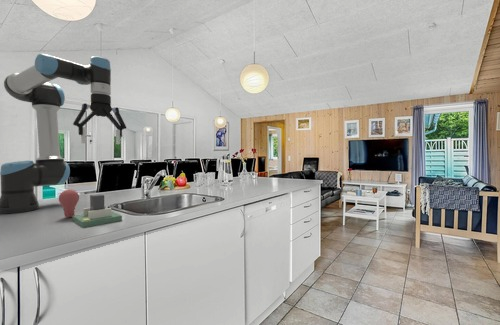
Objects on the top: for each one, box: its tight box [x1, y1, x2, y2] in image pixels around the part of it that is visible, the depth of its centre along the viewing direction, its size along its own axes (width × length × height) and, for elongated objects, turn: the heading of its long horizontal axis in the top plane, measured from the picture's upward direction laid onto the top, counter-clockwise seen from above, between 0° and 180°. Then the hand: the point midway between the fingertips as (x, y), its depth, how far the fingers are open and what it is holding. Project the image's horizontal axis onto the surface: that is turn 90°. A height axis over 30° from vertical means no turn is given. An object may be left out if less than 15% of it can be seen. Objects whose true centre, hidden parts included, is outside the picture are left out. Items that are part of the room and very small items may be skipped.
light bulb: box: [58, 189, 80, 218], centre depth 110 cm, size 7×7×12 cm
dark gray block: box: [89, 193, 105, 211], centre depth 105 cm, size 4×4×8 cm
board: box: [72, 205, 123, 228], centre depth 105 cm, size 14×14×5 cm
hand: (101, 143), depth 112 cm, fingers open, 13 cm apart
